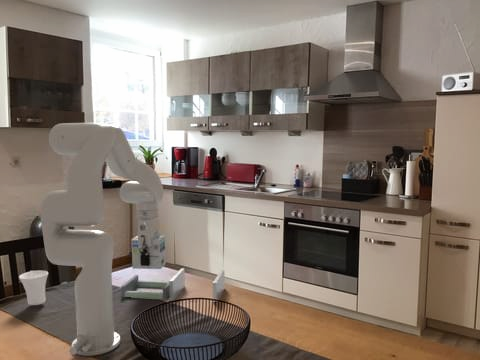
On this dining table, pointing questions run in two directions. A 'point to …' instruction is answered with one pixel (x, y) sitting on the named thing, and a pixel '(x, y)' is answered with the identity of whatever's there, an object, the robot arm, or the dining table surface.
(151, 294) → the tray
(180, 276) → the white holder
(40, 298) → the cup
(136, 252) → the light bulb box
